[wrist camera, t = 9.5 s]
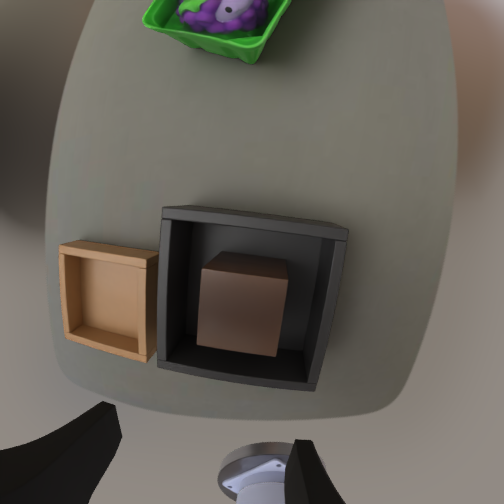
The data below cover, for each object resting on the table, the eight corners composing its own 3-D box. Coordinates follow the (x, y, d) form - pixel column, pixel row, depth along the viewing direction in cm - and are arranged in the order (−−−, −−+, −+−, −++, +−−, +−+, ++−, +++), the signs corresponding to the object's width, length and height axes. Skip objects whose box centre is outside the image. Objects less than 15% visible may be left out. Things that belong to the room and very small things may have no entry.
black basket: (308, 355, 20) (314, 392, 15) (179, 336, 20) (157, 367, 16) (332, 222, 18) (349, 229, 14) (187, 205, 19) (162, 206, 14)
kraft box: (159, 347, 21) (146, 363, 18) (81, 326, 21) (64, 338, 19) (161, 252, 20) (146, 259, 17) (78, 239, 20) (58, 244, 18)
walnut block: (276, 319, 19) (276, 357, 14) (215, 311, 19) (196, 344, 14) (285, 259, 18) (288, 279, 13) (221, 250, 19) (201, 267, 14)
